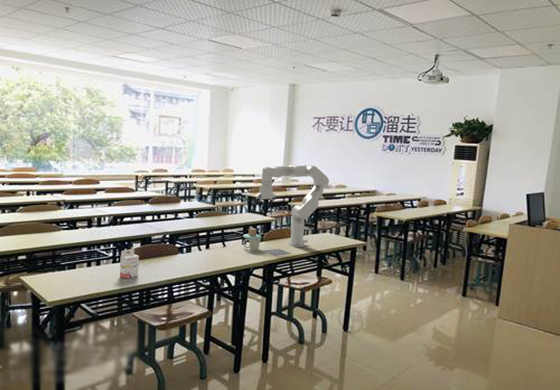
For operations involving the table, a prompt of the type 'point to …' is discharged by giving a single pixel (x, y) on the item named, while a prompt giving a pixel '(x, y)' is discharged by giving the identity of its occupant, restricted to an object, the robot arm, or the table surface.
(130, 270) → the ink cartridge box
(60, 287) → the table surface
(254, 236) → the lid
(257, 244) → the mug
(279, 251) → the mat
